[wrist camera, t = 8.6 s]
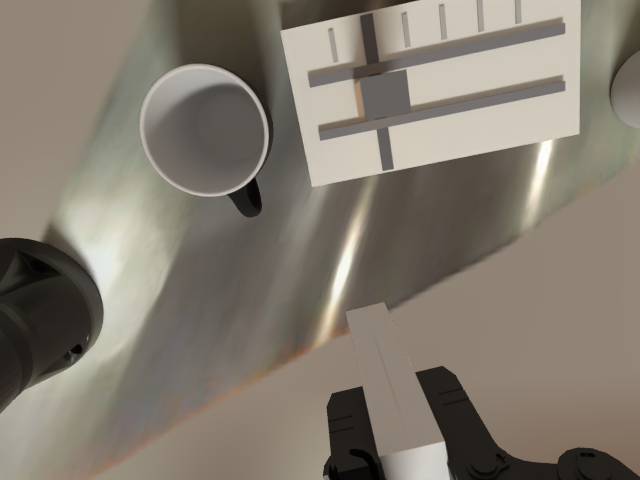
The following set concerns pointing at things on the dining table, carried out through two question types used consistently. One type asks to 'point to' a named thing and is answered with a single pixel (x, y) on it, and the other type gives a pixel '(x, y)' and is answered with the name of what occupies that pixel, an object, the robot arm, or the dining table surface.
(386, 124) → the console
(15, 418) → the dining table surface
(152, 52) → the dining table surface
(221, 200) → the dining table surface
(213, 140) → the mug
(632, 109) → the cup
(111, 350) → the dining table surface
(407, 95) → the fader cap
